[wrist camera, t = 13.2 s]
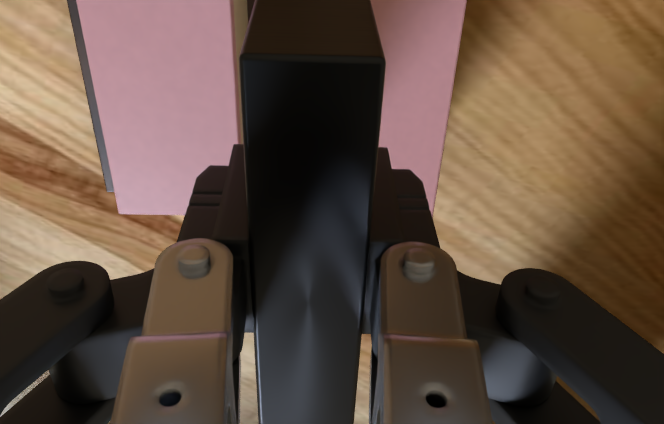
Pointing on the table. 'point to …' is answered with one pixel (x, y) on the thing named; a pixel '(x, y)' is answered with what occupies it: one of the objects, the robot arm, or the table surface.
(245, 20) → the cake
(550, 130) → the table surface
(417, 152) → the slice
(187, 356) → the robot arm
